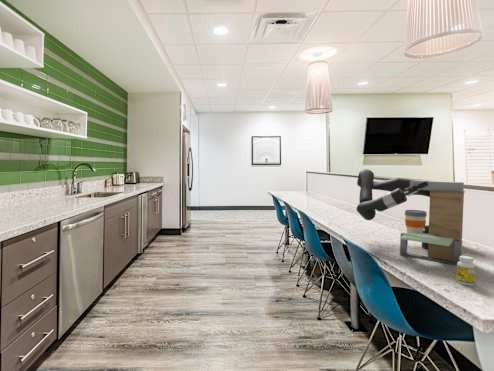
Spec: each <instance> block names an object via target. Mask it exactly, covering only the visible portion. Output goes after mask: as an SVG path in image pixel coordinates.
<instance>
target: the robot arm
mask: <svg viewBox="0 0 494 371" xmlns="http://www.w3.org/2000/svg"><path fill="white" fill-rule="evenodd" d="M374 178H375V173H374V172H373V171H372V170H371V169H361V170H360V171H359V173H358V177H357V182H356V184H357V186H358V187H360V189H359V190H360V191H359V204H358V205H357V207H356V212H358V214H360V216H361V217H362V218H363V219H364V220H365V221H371V220H373V219H374V218H375V217H376V211H378V212H384V211H386V210H388V209H392V208H394V207H396V206H399V205H401V204H403V203H405V202H407V201H408V198H407V196H408V197H410V196H425V197H429V198H430V192H429V191H430V190H420V189H421V188H423V187H426V186H428V183H427V182H430V181H428V180H427V181H425V182H423V183H421V184H418V185H414V186H411V187H410V181H414V180H412V179H406V178H402V177H395V178H391V179H388V180H382V181H376V180H375V179H374ZM411 188H412V189H411ZM373 190H376V191H386V192H388V193H386V194H384V195H383V196H380V197H378V198H376V199H373Z"/></svg>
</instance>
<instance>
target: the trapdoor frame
mask: <svg viewBox="0 0 494 371" xmlns="http://www.w3.org/2000/svg"><path fill="white" fill-rule="evenodd" d="M406 233H407V232H401V233H400V236H399V237H400V239H399V245H400V246H399V255H400V256H405V257H410V258H416V259H420V260H426V261H432V262H436V263H437V262H438V263H442V264H449V265H454V266H457V263H458V262H459V261H460V259H459V257H460V256H463V240H462V241H460V240H455V244H454V261H450V260H444V259H439V258H433V257H428V255H422V254H421V255H419V254H415V253H410V252H408V245H409V243H408V241H409V240H404V239H401V236H403V235H404V234H406Z"/></svg>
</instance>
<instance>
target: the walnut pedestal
mask: <svg viewBox="0 0 494 371" xmlns="http://www.w3.org/2000/svg"><path fill="white" fill-rule="evenodd" d="M429 192H430V197H429V207H428V208H429V210H428V211H429V212H428V225H429V234H433V235H439V237H444V238H452V239H453V242H452V243H451V244H450V246H444V245H437V244H431V243H428V249H427V257H433V258H439V259H444V260H450V261H454V244H455V240H460V241H463V228H464V227H463V222H464V198H465V197H464V196H465V190H464V191H463V192H457V191H434V190H430V191H429Z"/></svg>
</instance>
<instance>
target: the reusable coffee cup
mask: <svg viewBox="0 0 494 371" xmlns="http://www.w3.org/2000/svg"><path fill="white" fill-rule="evenodd" d="M404 215H405V216H404V217H405V218H404V223H405V228H406V233H414V234H421V233H422V231H424V230H425V229H424V226H425V225H427V224H426V223H427V215H428V214H427V211H426V210H420V209H419V210H417V209H405V211H404Z"/></svg>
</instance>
